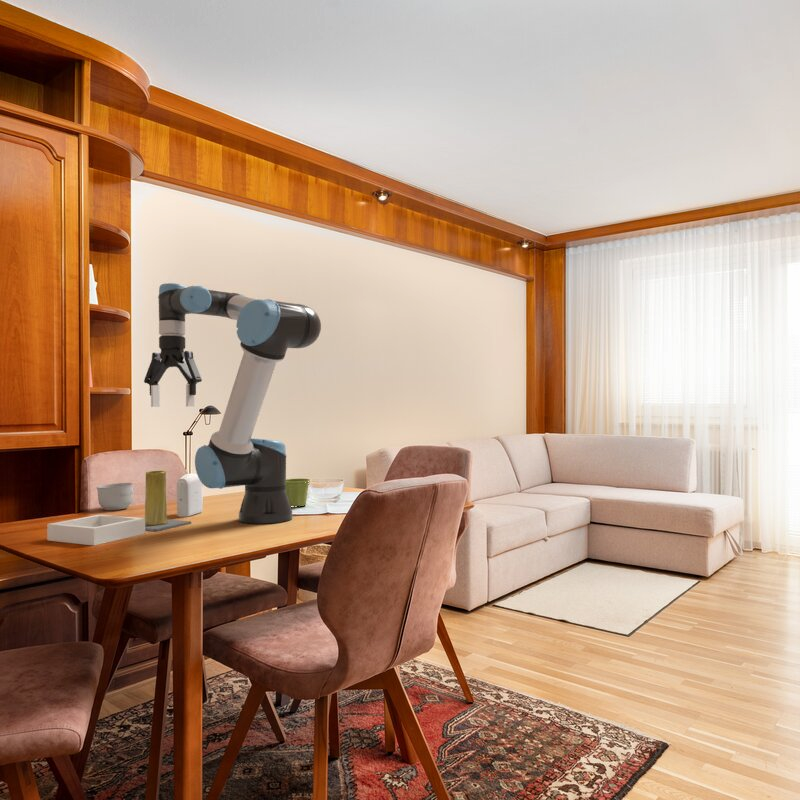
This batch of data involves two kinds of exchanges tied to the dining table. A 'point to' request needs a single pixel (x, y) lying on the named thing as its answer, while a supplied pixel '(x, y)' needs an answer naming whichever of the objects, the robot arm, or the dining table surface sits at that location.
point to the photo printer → (189, 495)
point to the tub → (95, 529)
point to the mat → (166, 525)
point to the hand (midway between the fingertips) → (172, 406)
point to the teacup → (115, 496)
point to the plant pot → (297, 491)
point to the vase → (155, 498)
